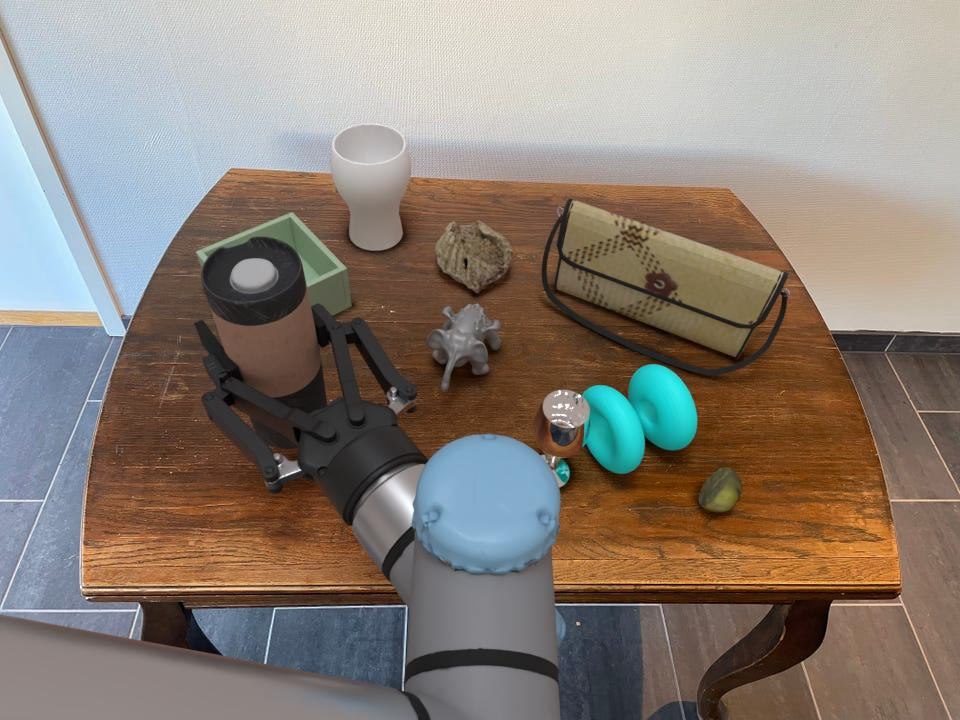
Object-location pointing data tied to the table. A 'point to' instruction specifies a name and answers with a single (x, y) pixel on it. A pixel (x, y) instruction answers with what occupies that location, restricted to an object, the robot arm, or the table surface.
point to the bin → (318, 261)
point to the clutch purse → (663, 283)
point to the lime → (721, 490)
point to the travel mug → (267, 324)
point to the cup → (371, 181)
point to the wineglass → (561, 430)
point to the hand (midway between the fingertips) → (245, 312)
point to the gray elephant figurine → (464, 340)
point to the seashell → (473, 254)
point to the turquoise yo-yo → (639, 418)
